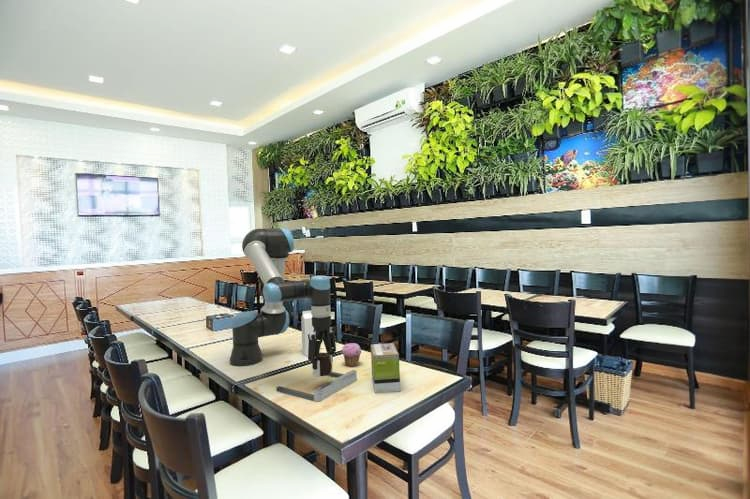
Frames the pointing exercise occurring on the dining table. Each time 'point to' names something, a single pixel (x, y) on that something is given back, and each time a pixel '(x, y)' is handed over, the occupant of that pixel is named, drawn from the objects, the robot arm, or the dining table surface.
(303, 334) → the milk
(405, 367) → the dining table surface
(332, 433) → the dining table surface
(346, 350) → the cupcake
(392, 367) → the tea box
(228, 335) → the dining table surface
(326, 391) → the u-shaped bar frame
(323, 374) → the mate gourd
